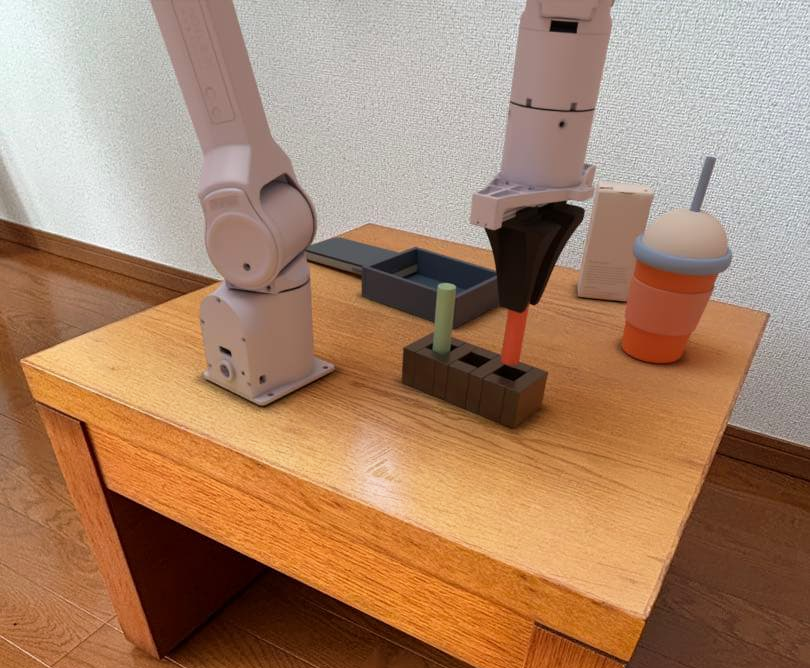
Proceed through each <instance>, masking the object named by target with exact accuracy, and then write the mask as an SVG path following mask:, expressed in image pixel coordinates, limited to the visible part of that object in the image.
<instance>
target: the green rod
mask: <svg viewBox="0 0 810 668" xmlns="http://www.w3.org/2000/svg"><path fill="white" fill-rule="evenodd" d="M455 295H456V286H455V285H453V284H450V283H442V284H439V285H438V287H437V300H436V313H435V322H434V327H433V332H434V338H433V351H435V352H438V353H441V354H443V355H446V354H447V353H449V352H450V346H451V337H453V336H452V334H453V328H452V326H453V316H454V305H455Z"/></svg>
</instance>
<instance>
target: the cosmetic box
mask: <svg viewBox="0 0 810 668" xmlns="http://www.w3.org/2000/svg"><path fill="white" fill-rule="evenodd" d="M654 195H655V194H654V191H653V190H652V188H651V186H650V185H647V184H635V183H622V182H610V181H600V180H599V181H597V182H596V186H595V190H594V195H593V202H592V207H591V213H590V218H589V222H588V228H587V233H586V238H585V242H584V248H583V253H582V257H581V264H580V268H579V272H578V273H579V274H578V278H577V284H576V285H577V297H579V298H585V299H596V300H605V301H606V300H607V301H614V302H615V301H617V302H627V300H628V294H629V289H630V283H631V277H632V273H633V271H634V270H635V266H636V261H637V259H636V258H635V257H634V255H633V252H632V248H633V244H634V242H635V240H636V239H637V237H638V236H640V235H641V234H644V233H645V232H646V229H647V228H646V227H647V224H648V219H649V215H650V211H651V208H652V204H653V200H654Z"/></svg>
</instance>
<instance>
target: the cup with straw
mask: <svg viewBox="0 0 810 668" xmlns="http://www.w3.org/2000/svg"><path fill="white" fill-rule="evenodd" d="M703 162H704V163H703V165H702V168H701V171H700V176H699V179H698V181H697V185H696V188H695V192H694V195H693V197H692V201H691V204H690V208H689V207H688V208H687V207H686V208H677V209H674V210H671V211H668V212H666V213H664V214H662V215H660V216H659V217H658V218H656V219H655V220H654V221H653V222H652V223H651V224H650V225H649V226H648V227H647V228H646V229H645V232H644V234H641V235H640V236H638V237H637V239H636V240H635V242H634V244H633V248H632V252H633V255H634V257H635V258H636V259H637V261H636V266H635V270H634V271H633V273H632V277H631V283H630V289H629V294H628V298H627V301H626V306H625V312H624V318H625V322H624V327H623V333H622V338H621V348H622V350H623V352H625V353H626V354H627V355H628V356H630V357H632V358H634V359H636V360H640V361H642V362H646V363H652V364H669V363H670V364H671V363H674V362H677V361H678V360H679V359H680V358H681V357H682V355H683V354H684V351H685V348H686V347H687V344H688V342H689V340H690V338H691V335H692V334H693V333H694V332H695V331H696V329H697V327H698V324H699V323H700V320H701V319H702V316H703V314H704V312H705V310H706V308H707V306H708V304H709V302H710V299H711V297H712V295H713V292H714V290H715V287H716V286H715V283H716V281H717V279H718V277H719V274H721V273H723V272H725V271H727V270H728V269H729V268H730V266H731V264H732V261H733V251H732V249H730V247H729V243H728V241H729V240H728V235H727V232H726V229H725V227H724V225H723V224H722V223H721V221H720V220H719V219H718V218H717V217H716V216H714V215H713V214H711V213H710V212H707V211H706V210H702V205H703V202H704V200H705V195H706V193H707V190H708V187H709V184H710V180H711V177H712V174H713V171H714V167H715V164H716V162H717V157H716V156H706V157H705V160H704V161H703Z"/></svg>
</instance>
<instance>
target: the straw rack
mask: <svg viewBox="0 0 810 668" xmlns="http://www.w3.org/2000/svg"><path fill="white" fill-rule="evenodd" d="M433 338H434V331H432V332H431V333H429V334H426V335H425V336H423V337H421V338H419V339H417V340H415V341H413V342H411V343H409V344H406V345H405V346H404V347H403V348H402V364H401V365H402V366H401V367H402V368H401V369H402V370H401V383H403V384H405V385H407V386H409V387H412V388H414V389H416V390H419V391H422V392H424V393H425V394H429V395H430V396H431V395H432V396H434V397H436V398H438V399H441V400H443V401H446V402H448V403H450V404H453V405H455V406H458V407H459V408H463V409H465V410H466V411H469V412H472V413H475V414H476V415H479V416H482V417H484V418H487V419H489V420H491V421H493V422H495V423H498V424H499V423H500V424H501V425H502V426H503V425H504V426H506V427H508V428H510V429H515V428H517V426H519V425H520V424H521V423H522V422H524V421H525V420H526V419H528V418H529V417H531V416H532V415H533V414H535V413H536V412H537V411H539V410H540V409H541V408H542V406H543V405H542V404H543V401H544V396H545V391H546V387H547V381H548V376H549V371H547V370H544V369H541V368H539V367H536V366H533V365H531V364H528V363H525V362H522V361H520V360H519V363H518V364H517V365H514V366H509V365H505V364H503V363H502V362H501V360H500V359H501V354H500V353H498V352H495V351H493V350H489V349H487V348H484V347H482V346H478V345H475V344H472V343H469V342H467V341H464V340H461V339H458V338H456V337H453V336H451V346H450V352H449V353H447V354H446V355H443V354H441V353H438V352H435V351H433Z"/></svg>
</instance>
